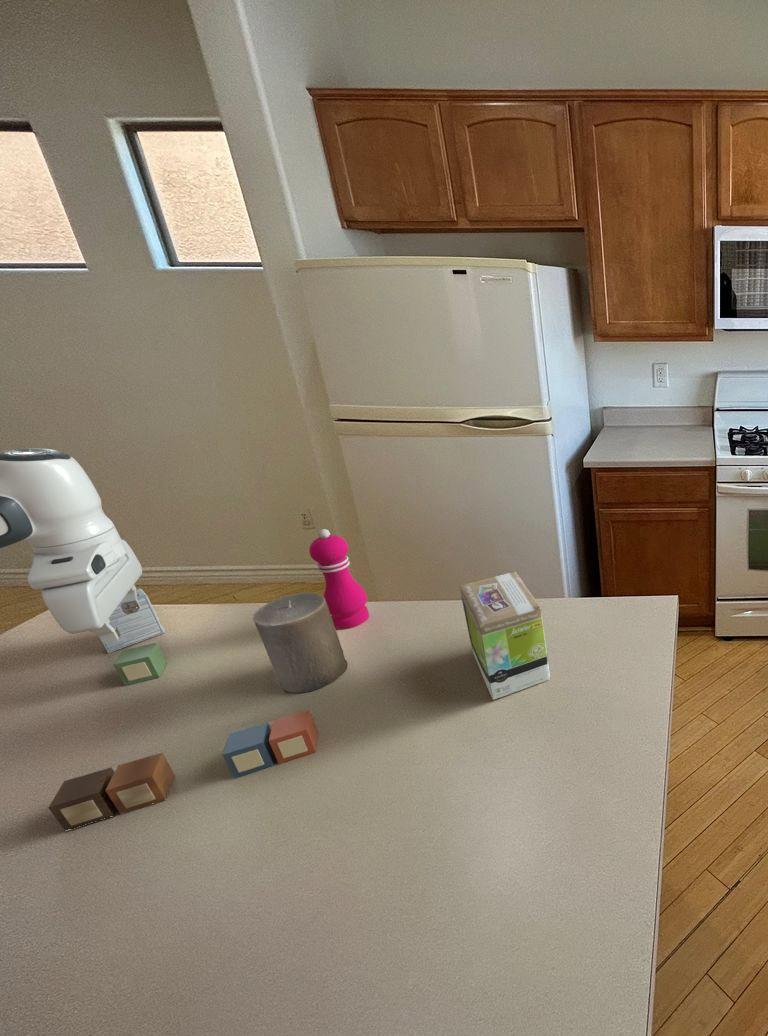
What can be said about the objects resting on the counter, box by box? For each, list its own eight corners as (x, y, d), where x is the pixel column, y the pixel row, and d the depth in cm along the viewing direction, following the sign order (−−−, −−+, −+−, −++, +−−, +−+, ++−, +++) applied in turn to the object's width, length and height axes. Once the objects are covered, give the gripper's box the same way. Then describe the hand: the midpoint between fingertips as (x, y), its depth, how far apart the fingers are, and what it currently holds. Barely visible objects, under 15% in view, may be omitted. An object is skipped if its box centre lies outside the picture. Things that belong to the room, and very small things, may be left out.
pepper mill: (333, 614, 112) (304, 524, 103) (374, 607, 114) (348, 519, 106) (326, 634, 106) (294, 540, 97) (369, 625, 108) (342, 534, 100)
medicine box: (159, 625, 108) (141, 587, 104) (166, 633, 105) (147, 594, 102) (102, 645, 102) (80, 605, 98) (108, 654, 99) (85, 614, 96)
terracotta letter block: (278, 764, 78) (268, 741, 76) (282, 742, 81) (273, 720, 80) (315, 752, 80) (306, 730, 78) (318, 732, 83) (309, 709, 82)
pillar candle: (353, 652, 101) (330, 581, 94) (338, 687, 92) (312, 612, 86) (291, 662, 98) (263, 590, 92) (270, 699, 89) (237, 622, 83)
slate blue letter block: (233, 779, 75) (221, 755, 74) (239, 756, 79) (228, 733, 77) (273, 766, 77) (262, 743, 76) (277, 744, 81) (267, 721, 79)
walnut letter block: (64, 833, 68) (47, 808, 66) (80, 805, 72) (64, 780, 70) (113, 817, 70) (97, 793, 68) (126, 790, 74) (111, 767, 72)
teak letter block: (120, 815, 70) (104, 791, 68) (132, 789, 74) (117, 765, 72) (165, 801, 72) (151, 776, 70) (175, 775, 76) (162, 752, 74)
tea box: (553, 679, 95) (542, 606, 88) (492, 702, 89) (476, 627, 83) (526, 635, 106) (515, 568, 100) (471, 653, 101) (456, 584, 95)
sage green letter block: (124, 686, 92) (112, 665, 90) (133, 670, 95) (122, 650, 94) (159, 677, 94) (148, 657, 92) (167, 662, 97) (157, 642, 96)
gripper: (82, 530, 92) (120, 600, 97) (20, 586, 76) (70, 666, 81) (133, 522, 94) (167, 591, 100) (83, 574, 78) (127, 653, 84)
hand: (123, 625), depth 91 cm, fingers open, 8 cm apart
